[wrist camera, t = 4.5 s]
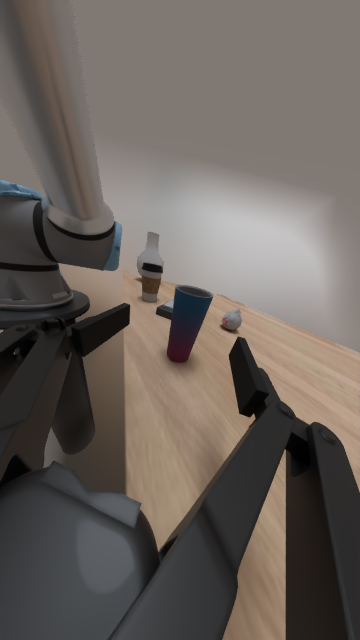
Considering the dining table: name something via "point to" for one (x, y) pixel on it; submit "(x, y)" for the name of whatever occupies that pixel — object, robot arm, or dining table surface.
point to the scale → (166, 310)
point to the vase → (150, 252)
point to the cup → (186, 320)
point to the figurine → (232, 320)
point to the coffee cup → (150, 281)
